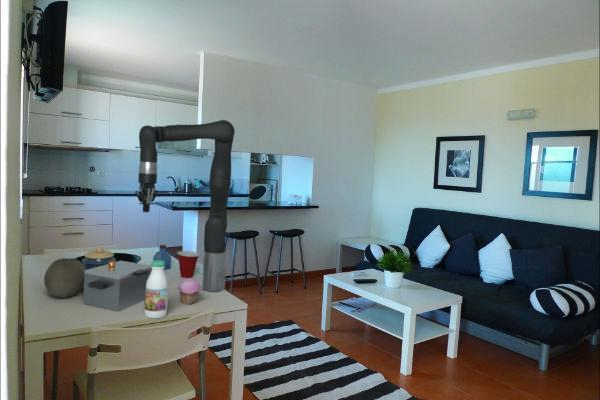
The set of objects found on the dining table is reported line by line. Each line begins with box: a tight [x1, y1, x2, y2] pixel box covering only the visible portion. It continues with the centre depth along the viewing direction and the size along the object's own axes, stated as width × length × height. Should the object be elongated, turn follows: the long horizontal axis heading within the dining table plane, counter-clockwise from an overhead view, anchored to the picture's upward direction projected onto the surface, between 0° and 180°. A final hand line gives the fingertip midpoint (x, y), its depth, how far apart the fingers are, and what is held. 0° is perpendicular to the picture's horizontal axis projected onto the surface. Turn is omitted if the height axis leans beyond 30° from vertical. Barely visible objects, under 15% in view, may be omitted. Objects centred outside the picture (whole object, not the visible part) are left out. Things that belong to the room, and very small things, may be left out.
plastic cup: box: [177, 250, 201, 279], centre depth 201 cm, size 11×11×12 cm
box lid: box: [84, 260, 152, 280], centre depth 160 cm, size 19×19×3 cm
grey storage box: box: [82, 269, 152, 312], centre depth 160 cm, size 16×22×12 cm
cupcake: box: [177, 277, 202, 305], centre depth 165 cm, size 9×9×10 cm
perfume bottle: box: [152, 244, 172, 271], centre depth 213 cm, size 6×6×12 cm
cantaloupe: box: [43, 257, 86, 299], centre depth 162 cm, size 14×14×15 cm
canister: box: [81, 246, 117, 291], centre depth 175 cm, size 13×13×18 cm
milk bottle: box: [144, 260, 169, 320], centre depth 149 cm, size 8×8×20 cm
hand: (146, 212), depth 180 cm, fingers closed
